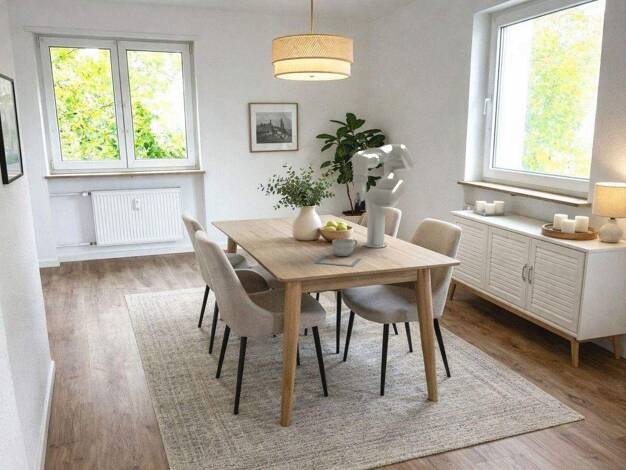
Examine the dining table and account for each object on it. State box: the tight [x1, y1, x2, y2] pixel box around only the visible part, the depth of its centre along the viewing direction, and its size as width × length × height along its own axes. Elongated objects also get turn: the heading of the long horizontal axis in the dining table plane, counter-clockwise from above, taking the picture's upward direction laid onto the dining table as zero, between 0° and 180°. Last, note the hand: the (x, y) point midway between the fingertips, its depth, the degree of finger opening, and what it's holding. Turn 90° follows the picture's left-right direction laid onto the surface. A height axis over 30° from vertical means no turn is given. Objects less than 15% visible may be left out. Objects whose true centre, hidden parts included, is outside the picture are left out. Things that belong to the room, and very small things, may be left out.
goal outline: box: [313, 255, 362, 268], centre depth 255 cm, size 16×20×1 cm
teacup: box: [331, 238, 359, 257], centre depth 267 cm, size 14×11×8 cm
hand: (359, 211), depth 270 cm, fingers open, 9 cm apart
